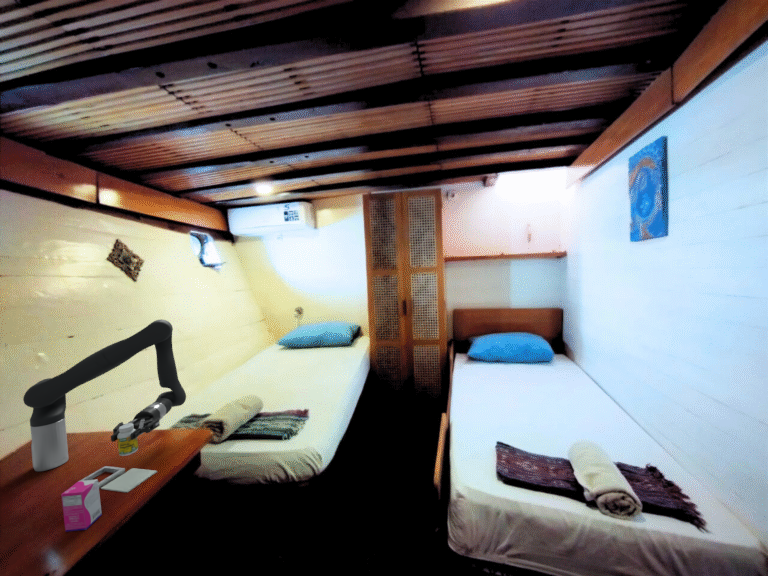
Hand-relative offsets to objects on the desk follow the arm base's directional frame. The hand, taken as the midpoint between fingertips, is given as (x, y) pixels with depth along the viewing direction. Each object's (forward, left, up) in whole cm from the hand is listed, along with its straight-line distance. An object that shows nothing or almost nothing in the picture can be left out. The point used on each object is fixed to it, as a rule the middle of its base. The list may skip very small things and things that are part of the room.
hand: (122, 438), depth 108 cm
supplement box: (+5, -16, -17) cm, 24 cm away
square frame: (-12, +1, -17) cm, 21 cm away
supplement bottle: (-1, +2, -7) cm, 7 cm away
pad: (-1, +2, -17) cm, 17 cm away
